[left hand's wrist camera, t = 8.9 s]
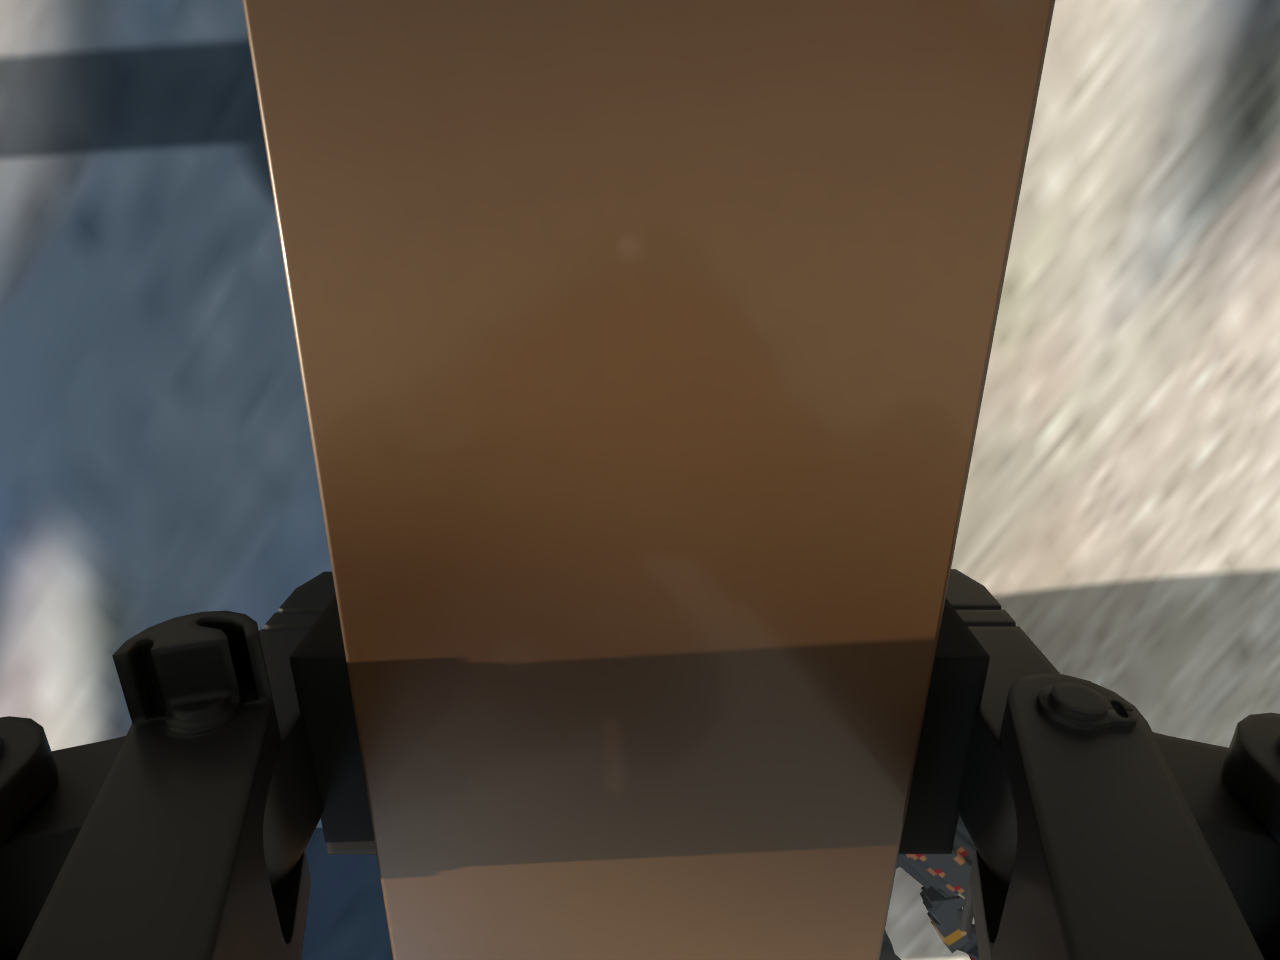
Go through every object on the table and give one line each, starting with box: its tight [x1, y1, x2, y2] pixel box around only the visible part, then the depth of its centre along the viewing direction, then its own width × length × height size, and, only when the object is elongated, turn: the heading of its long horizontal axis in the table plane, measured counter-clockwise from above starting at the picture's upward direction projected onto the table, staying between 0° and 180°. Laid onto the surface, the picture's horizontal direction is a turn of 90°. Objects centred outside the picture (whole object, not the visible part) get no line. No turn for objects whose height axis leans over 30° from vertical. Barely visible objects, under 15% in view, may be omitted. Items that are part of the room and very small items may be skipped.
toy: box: [879, 815, 979, 960], centre depth 32 cm, size 13×27×18 cm, turn 46°
